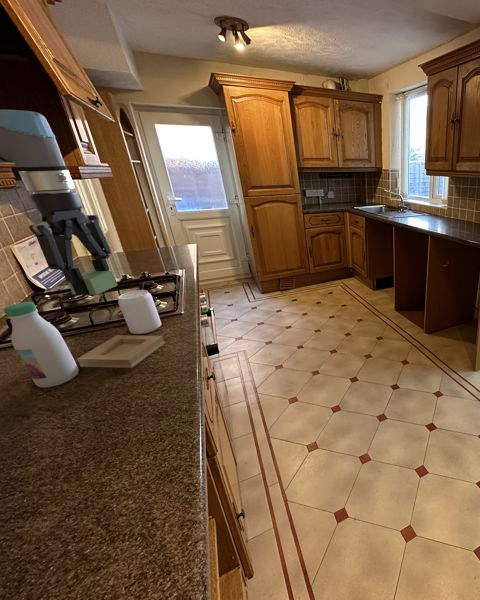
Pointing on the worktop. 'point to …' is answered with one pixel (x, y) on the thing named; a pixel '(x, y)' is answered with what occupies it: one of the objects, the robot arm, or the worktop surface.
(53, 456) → the worktop surface
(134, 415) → the worktop surface
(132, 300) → the white cylindrical container
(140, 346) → the base pad
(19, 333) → the milk bottle
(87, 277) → the green block
